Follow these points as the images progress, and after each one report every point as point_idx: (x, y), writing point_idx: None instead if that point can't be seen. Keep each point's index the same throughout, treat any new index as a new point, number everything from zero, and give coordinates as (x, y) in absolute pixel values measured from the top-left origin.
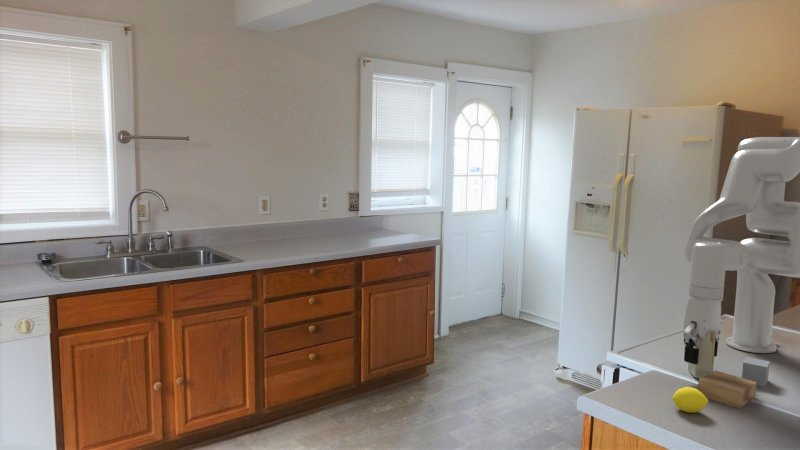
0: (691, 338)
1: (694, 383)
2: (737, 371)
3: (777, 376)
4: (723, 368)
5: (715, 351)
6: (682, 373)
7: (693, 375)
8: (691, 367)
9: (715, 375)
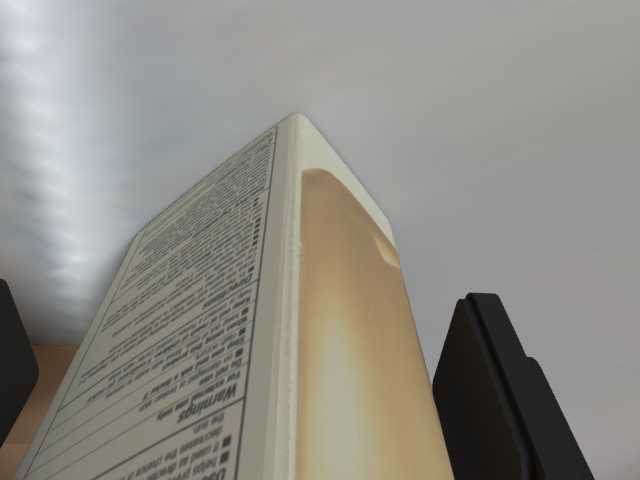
0: (167, 473)
1: (46, 265)
2: (564, 350)
3: (610, 472)
4: (575, 280)
5: (445, 438)
6: (160, 114)
7: (152, 225)
8: (190, 214)
9: None
